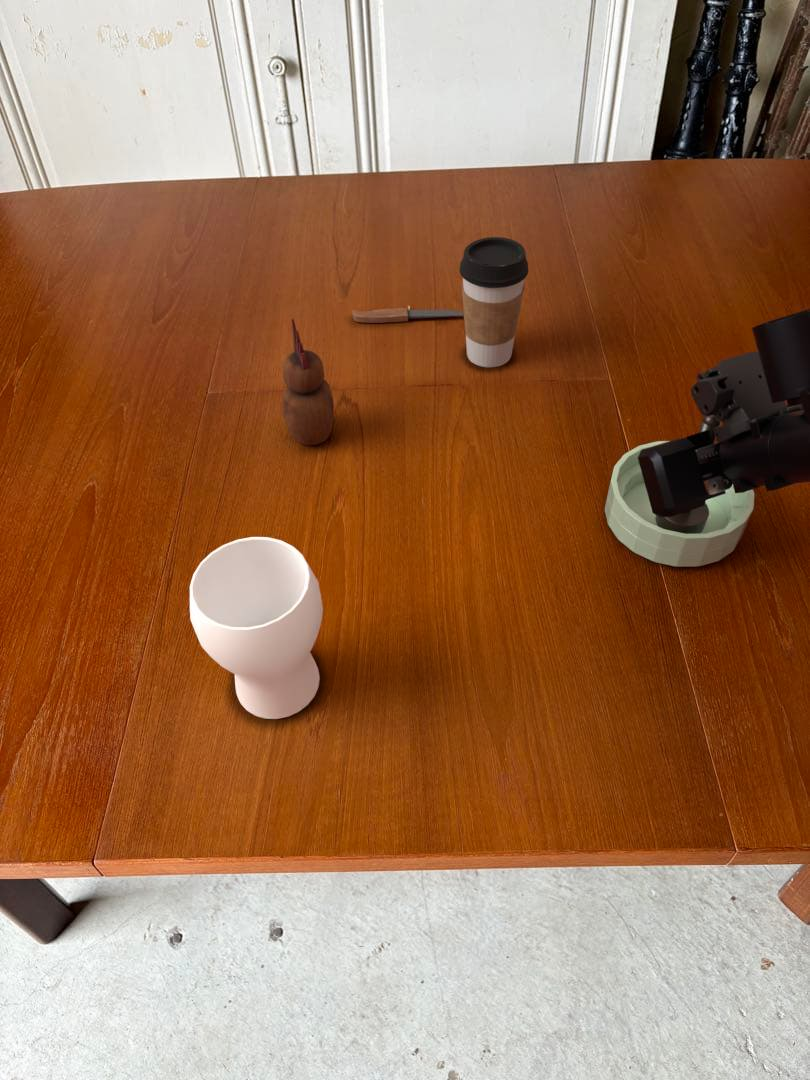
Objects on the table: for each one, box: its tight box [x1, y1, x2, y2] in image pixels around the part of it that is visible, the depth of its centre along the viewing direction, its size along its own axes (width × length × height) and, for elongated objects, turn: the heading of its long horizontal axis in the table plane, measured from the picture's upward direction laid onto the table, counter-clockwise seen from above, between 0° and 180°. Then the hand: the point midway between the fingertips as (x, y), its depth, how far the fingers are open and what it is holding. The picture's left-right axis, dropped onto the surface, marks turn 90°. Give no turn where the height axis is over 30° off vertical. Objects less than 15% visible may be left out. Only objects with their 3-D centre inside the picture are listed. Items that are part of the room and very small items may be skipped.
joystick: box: [655, 415, 722, 534], centre depth 80 cm, size 5×5×14 cm
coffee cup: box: [459, 236, 529, 368], centre depth 103 cm, size 8×8×15 cm
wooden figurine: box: [282, 318, 335, 446], centre depth 93 cm, size 7×6×15 cm
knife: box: [351, 305, 464, 324], centre depth 114 cm, size 17×1×3 cm
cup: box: [189, 536, 324, 720], centre depth 70 cm, size 11×11×15 cm
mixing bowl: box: [604, 440, 755, 568], centre depth 86 cm, size 14×14×5 cm
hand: (687, 463), depth 80 cm, fingers closed on joystick
